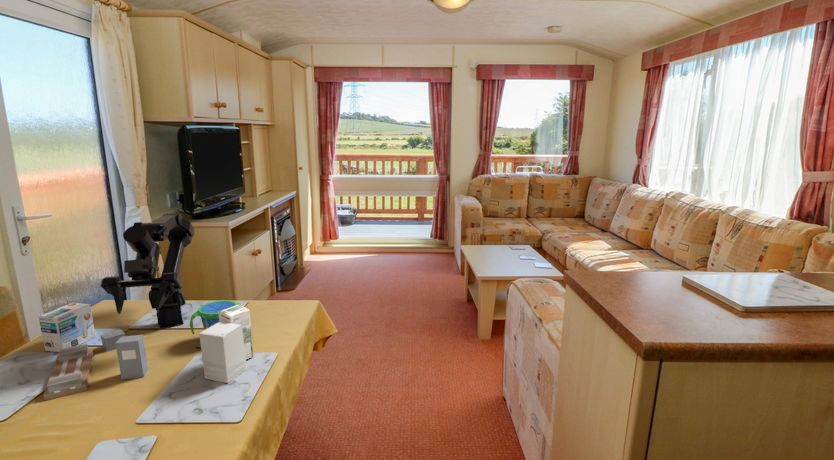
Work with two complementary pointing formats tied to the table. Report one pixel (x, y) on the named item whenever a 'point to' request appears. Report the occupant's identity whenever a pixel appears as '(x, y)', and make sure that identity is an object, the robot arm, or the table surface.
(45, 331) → the light bulb box
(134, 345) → the block
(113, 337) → the block
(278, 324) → the table surface
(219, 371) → the supplement box
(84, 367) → the rail board
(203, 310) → the snack cup
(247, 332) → the syrup box
